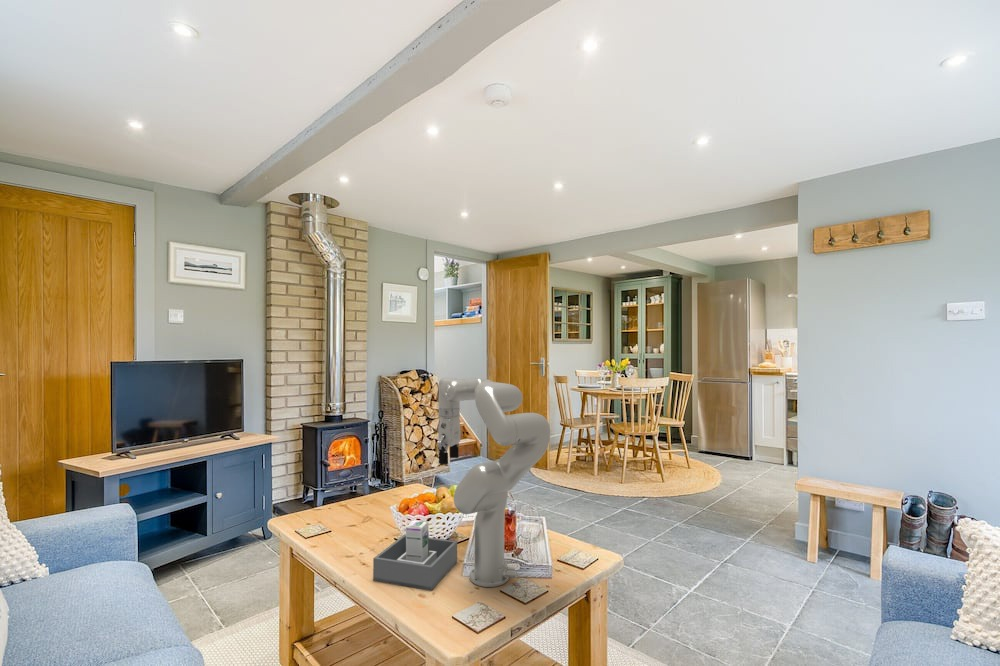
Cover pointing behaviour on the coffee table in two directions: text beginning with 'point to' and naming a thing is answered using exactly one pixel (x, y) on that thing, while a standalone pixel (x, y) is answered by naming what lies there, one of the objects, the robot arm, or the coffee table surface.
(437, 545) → the walled box
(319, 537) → the coffee table surface
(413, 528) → the syrup box
